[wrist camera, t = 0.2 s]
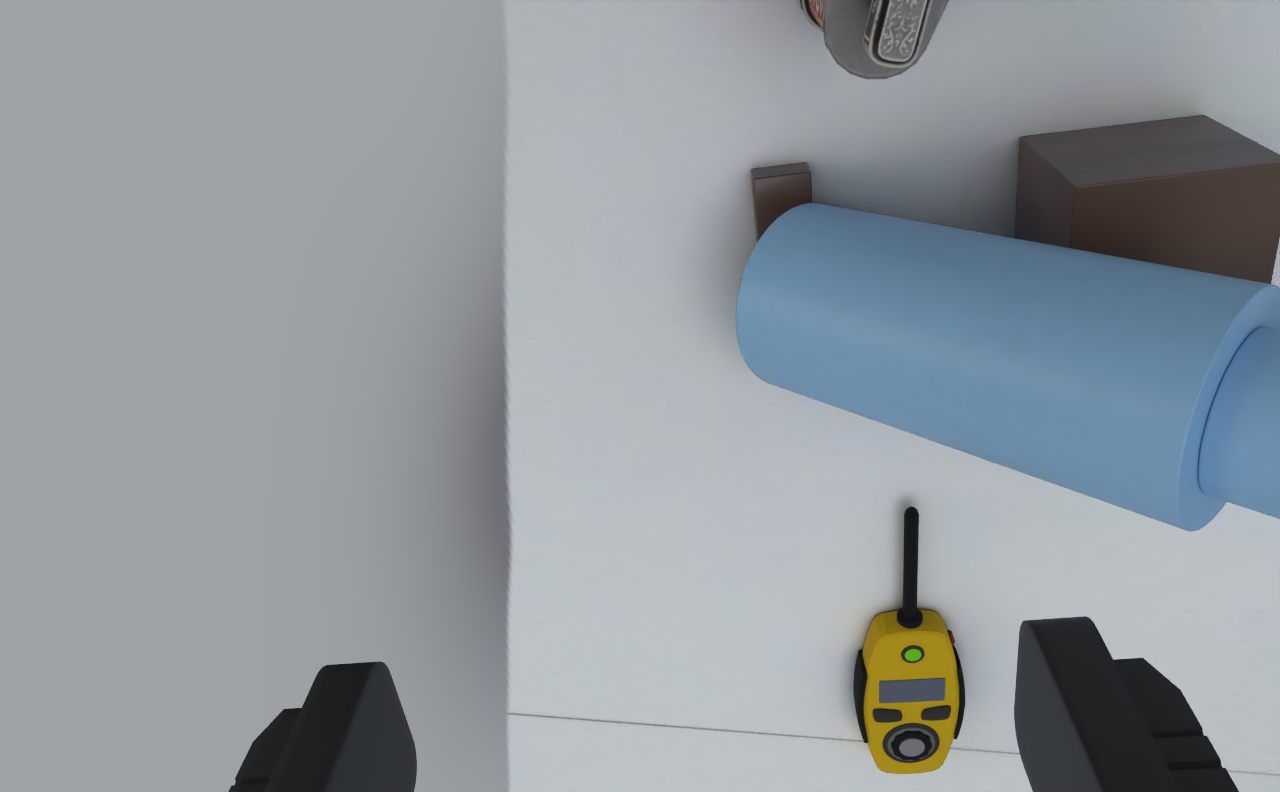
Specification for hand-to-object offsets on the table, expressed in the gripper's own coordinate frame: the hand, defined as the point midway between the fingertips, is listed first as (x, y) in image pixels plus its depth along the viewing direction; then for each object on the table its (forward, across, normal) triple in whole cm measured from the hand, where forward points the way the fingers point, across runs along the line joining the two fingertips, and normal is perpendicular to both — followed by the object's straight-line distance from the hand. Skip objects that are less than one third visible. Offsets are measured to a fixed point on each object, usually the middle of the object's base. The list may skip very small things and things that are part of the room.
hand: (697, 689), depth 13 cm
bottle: (+25, -10, +5) cm, 27 cm away
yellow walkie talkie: (+25, -7, +23) cm, 35 cm away
